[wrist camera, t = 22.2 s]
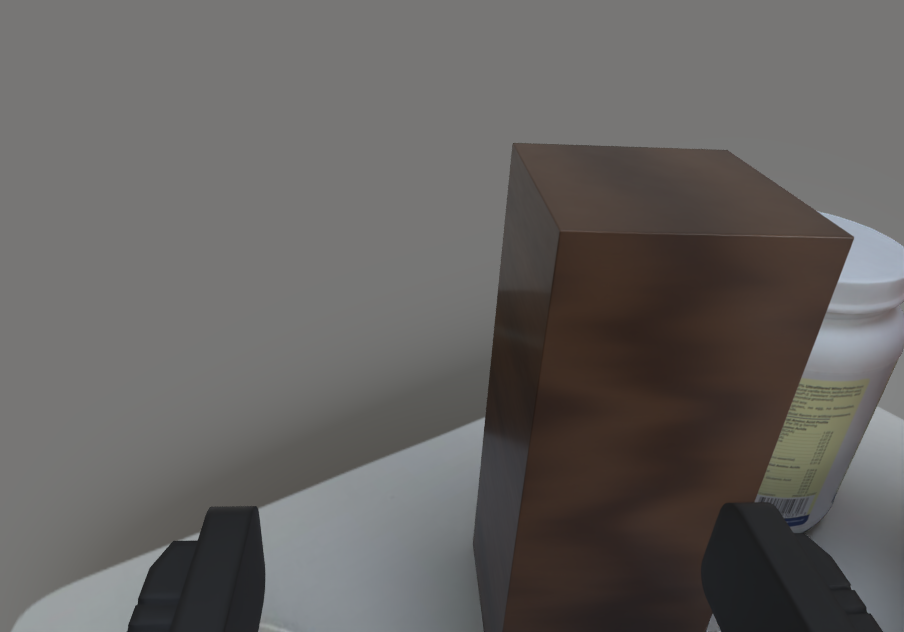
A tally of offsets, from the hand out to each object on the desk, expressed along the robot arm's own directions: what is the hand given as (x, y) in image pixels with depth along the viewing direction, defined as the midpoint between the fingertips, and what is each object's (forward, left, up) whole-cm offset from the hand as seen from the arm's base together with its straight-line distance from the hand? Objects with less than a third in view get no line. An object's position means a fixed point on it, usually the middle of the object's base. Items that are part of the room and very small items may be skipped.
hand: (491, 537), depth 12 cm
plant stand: (+7, +14, -21) cm, 27 cm away
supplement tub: (+20, +24, -21) cm, 38 cm away
